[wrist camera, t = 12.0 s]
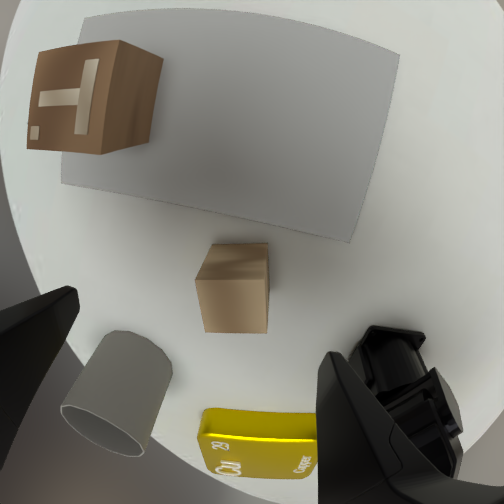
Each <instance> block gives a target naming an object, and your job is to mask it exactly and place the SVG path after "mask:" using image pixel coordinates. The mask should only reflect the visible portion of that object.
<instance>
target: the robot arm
mask: <svg viewBox="0 0 504 504" xmlns="http://www.w3.org/2000/svg"><path fill="white" fill-rule="evenodd" d="M79 310H80V304H79V298H78V292H77V289H76V288H74V287H71V286H64V287H61V288H58V289H56V290H53V291H50V292H48V293H45V294H42V295H40V296H37V297H34V298H32V299H29V300H27V301H24V302H21V303H19V304H16V305H14V306H12V307H9V308H6V309H4V310H1V311H0V471H1V470H2V468H3V465H4V463H5V460H6V458H7V455H8V453H9V450H10V448H11V445H12V443H13V441H14V438H15V436H16V434H17V431H18V428H19V427H20V425H21V422H22V420H23V418H24V416H25V414H26V412H27V410H28V408H29V406H30V404H31V402H32V400H33V398H34V396H35V394H36V392H37V390H38V388H39V386H40V384H41V382H42V381H43V379H44V377H45V375H46V373H47V371H48V370H49V368H50V366H51V364H52V363H53V361H54V359H55V357H56V356H57V354H58V352H59V350H60V349H61V347H62V345H63V344H64V342H65V340H66V338H67V336H68V333H69V331H70V329H71V327H72V325H73V323H74V321H75V319H76V317H77V315H78V313H79ZM373 331H375V332H373ZM372 332H373V333H372ZM425 339H426V337H425V335H424V333H419V332H411V331H404V330H397V329H390V328H383V327H377V326H372V327H370V328H369V329H368V331H367V332H366V334H365V336H364V338H363V340H362V341H361V343H360V345H359V346H358V347H357V348H356V350H355V352H354V353H353V355H352V357H351V358H350V360H349V362H347V361H346V360H345V358H344V357H343V356H342V354H341V353H339V352H333V351H329V352H327V354H326V355H325V357H324V359H323V361H322V363H321V365H320V367H319V370H318V381H317V398H316V429H317V456H318V504H504V486H501V487H500V486H488V485H482V484H477V483H471V482H466V481H461V480H457V477H458V474H459V470H460V466H461V462H462V457H463V449H462V446H461V443H460V441H459V438H458V435H459V434H461V433H462V432H463V427H462V421H461V416H460V411H459V406H458V404H457V401H456V399H455V397H454V395H453V393H452V391H451V389H450V387H449V385H448V384H447V383H446V381H445V380H444V379H443V377H442V376H441V375H440V373H439V372H438V371H437V369H436V368H435V367H434V368H432V369H431V370H429V372H428V370H427V368H426V366H425V364H424V361H423V359H422V357H421V355H420V353H419V348H420V347H421V345H422V344H423V342H424V341H425ZM0 504H1V503H0Z"/></svg>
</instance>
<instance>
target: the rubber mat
mask: <svg viewBox="0 0 504 504" xmlns="http://www.w3.org/2000/svg"><path fill="white" fill-rule="evenodd" d="M109 40H122V41H125V42H127V43H129V44H132V45H134V46H137V47H139V48H141V49H144V50H146V51H148V52H150V53H153V54H155V55H157V56H159V57H161V58H163V59H164V60H163V65H162V69H161V74H160V79H159V83H158V89H157V94H156V99H155V105H154V111H153V117H152V123H151V130H150V136H149V143H145V144H141V145H137V146H133V147H129V148H125V149H121V150H118V151H114V152H110V153H107V154H103V155H95V154H85V153H75V152H64V151H62V163H61V183H62V184H68V185H74V186H80V187H86V188H92V189H97V190H103V191H109V192H114V193H120V194H125V195H131V196H136V197H141V198H147V199H152V200H157V201H162V202H167V203H172V204H177V205H182V206H187V207H192V208H197V209H202V210H207V211H211V212H216V213H221V214H226V215H230V216H235V217H239V218H244V219H248V220H253V221H257V222H262V223H266V224H271V225H275V226H279V227H284V228H288V229H292V230H297V231H301V232H305V233H309V234H313V235H318V236H322V237H326V238H330V239H334V240H338V241H342V242H346V243H350V240H351V237H352V234H353V231H354V228H355V226H356V223H357V220H358V217H359V214H360V211H361V208H362V205H363V201H364V198H365V195H366V192H367V189H368V186H369V182H370V179H371V176H372V172H373V169H374V165H375V162H376V158H377V155H378V151H379V147H380V144H381V140H382V136H383V132H384V128H385V124H386V120H387V116H388V112H389V107H390V103H391V98H392V94H393V89H394V84H395V79H396V74H397V69H398V64H399V58H400V55H399V54H397V53H395V52H392V51H390V50H388V49H385V48H383V47H380V46H378V45H375V44H373V43H370V42H367V41H365V40H362V39H359V38H356V37H353V36H350V35H347V34H344V33H341V32H337V31H334V30H331V29H327V28H324V27H320V26H316V25H312V24H308V23H304V22H300V21H295V20H290V19H285V18H280V17H275V16H269V15H262V14H256V13H248V12H240V11H229V10H217V9H193V8H173V9H149V10H136V11H127V12H118V13H111V14H104V15H98V16H93V17H87V18H84V22H83V25H82V29H81V32H80V36H79V40H78V44H84V43H91V42H100V41H109ZM78 44H77V45H78Z"/></svg>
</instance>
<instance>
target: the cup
mask: <svg viewBox="0 0 504 504" xmlns="http://www.w3.org/2000/svg"><path fill="white" fill-rule="evenodd" d="M172 374H173V373H172V365H171V362H170V360H169V359H168V357H167V356H166V355H165V353H164V352H163V350H162V349H160V348H159V347H158V346H156V345H155V344H154V343H152V342H151V341H150V340H149V339H147V338H145V337H142V336H140V335H137V334H135V333H133V332H130V331H116V330H115V331H113V332H111V333H109V334H107V335H105V336H104V338H103V339H102V341H101V342H100V344H99V345H98V347H97V349H96V350H95V352H94V353H93V355H92V356H91V358H90V359H89V361H88V362H87V364H86V366H85V367H84V369H83V370H82V372H81V374H80V375H79V377H78V378H77V380H76V382H75V383H74V385H73V386H72V388H71V390H70V392H69V393H68V395H67V396H66V398H65V400H64V402H63V403H62V405H61V414H62V416H63V417H64V418H65V420H66V421H67V423H68V424H69V425H70V426H72V427H73V428H74V429H75V430H76V431H77V432H78V433H79V434H81V435H82V436H84V437H86V438H87V439H89V440H90V441H92V442H93V443H95V444H97V445H99V446H101V447H103V448H105V449H107V450H109V451H112V452H115V453H118V454H122V455H125V456H136V457H140V456H141V455H142V454H143V453H144V452H145V450H146V447H147V444H148V441H149V438H150V435H151V432H152V430H153V427H154V424H155V421H156V418H157V415H158V413H159V410H160V407H161V404H162V402H163V399H164V396H165V393H166V391H167V388H168V385H169V382H170V380H171V377H172Z"/></svg>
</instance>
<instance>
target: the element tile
mask: <svg viewBox="0 0 504 504" xmlns="http://www.w3.org/2000/svg"><path fill="white" fill-rule="evenodd" d="M197 440H198V443H199V446H200V449H201V452H202V455H203V458H204V461H205V464H206V466H207V469H208V470H209V471H211V472H212V473H215V474H220V475H229V476H238V477H250V478H266V479H303V478H305V477H307V476H309V475H310V474H311V472H312V471H313V469H314V467H315V465H316V464H317V462H318V456H317V429H316V414H315V413H276V412H257V411H244V410H233V409H223V408H208V409H206V410H204V412H203V414H202V418H201V423H200V427H199V431H198V435H197Z"/></svg>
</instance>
